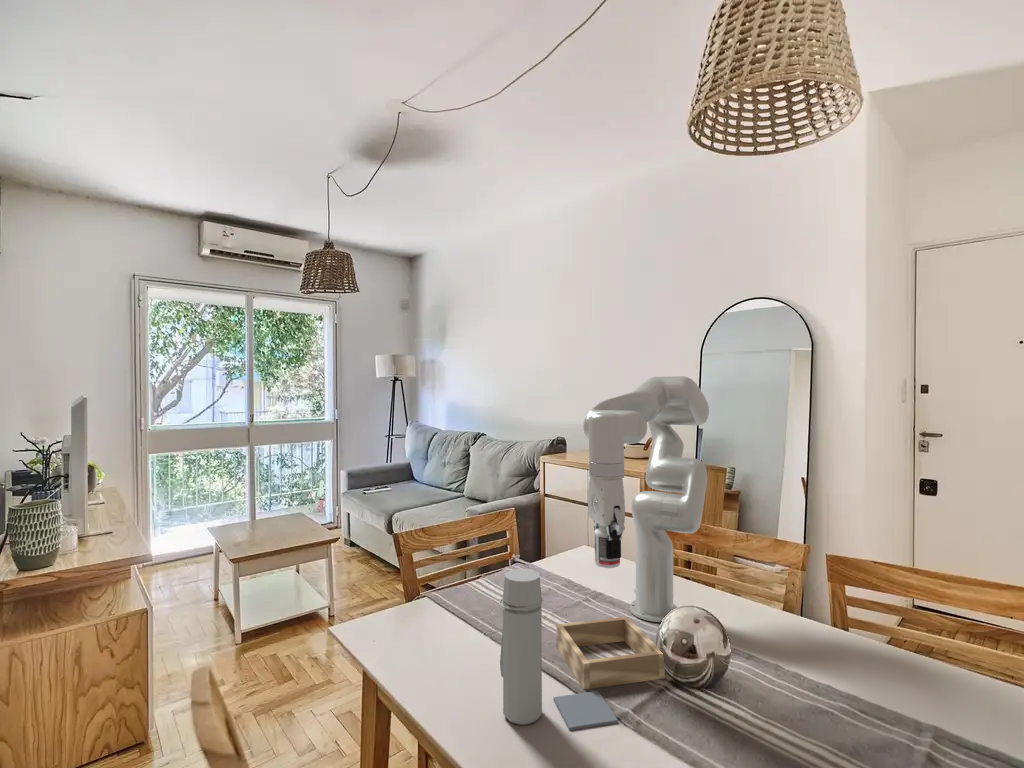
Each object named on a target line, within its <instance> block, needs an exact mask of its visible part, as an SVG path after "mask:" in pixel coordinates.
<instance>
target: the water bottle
mask: <svg viewBox="0 0 1024 768" xmlns="http://www.w3.org/2000/svg"><path fill="white" fill-rule="evenodd" d="M543 601H544V599H543V596H542V587H541V575H540V573H539V572H538V571H536V570H533V569H528V568H516V569H510V570H508V571H507V572H505V573H504V581H503V592H502V597H501V599H499V601H498V606H499V607H500V608H502V630H501V631H502V635H501V645H500V659H499V666H500V667H499V668H500V670H499V671H500V676H501V678H502V683H503V684H502V692H503V693H502V697H503V698H502V700H503V701H502V705H503V706H502V707H503V708H502V712H503V715H504V717H505V718H506V719H507V720H508V721H509V722H510V723H513V724H516V725H530V724H532V723H535V722H536V721H538V719H539V718H540V717H541V716H542V714H543V679H542V677H543V672H542V671H543V667H542V665H543V663H542V661H543V660H542V659H543V658H542V654H543V653H542V651H543V649H542V645H543V643H542V641H543V638H542V637H543V635H542V633H543V631H542V630H543V629H542V623H543V622H542V618H543V616H542V604H543ZM501 602H502V604H501Z"/></svg>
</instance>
